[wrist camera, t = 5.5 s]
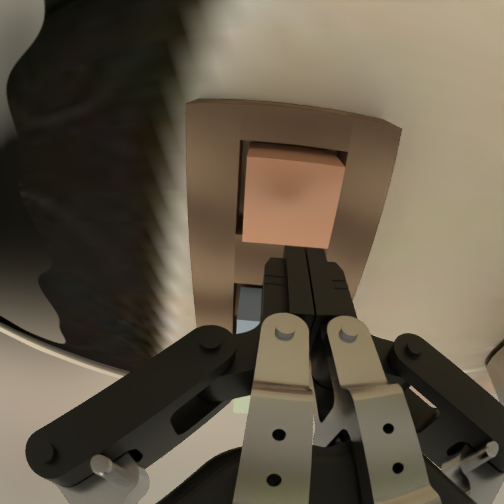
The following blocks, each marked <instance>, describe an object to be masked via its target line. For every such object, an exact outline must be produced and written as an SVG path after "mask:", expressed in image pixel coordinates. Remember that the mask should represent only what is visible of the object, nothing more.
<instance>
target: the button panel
mask: <svg viewBox="0 0 504 504" xmlns="http://www.w3.org/2000/svg"><path fill="white" fill-rule="evenodd" d="M401 131H402V129H401V128H399V127H397V126H395V125H393V124H391V123H389V122H387V121H385V120H382V119H378V118H373V117H369V116H364V115H359V114H354V113H349V112H344V111H338V110H332V109H326V108H319V107H312V106H305V105H297V104H288V103H278V102H267V101H254V100H235V99H197V100H194V101H191V102H189V103H186V175H187V204H188V225H189V242H190V257H191V270H192V283H193V294H194V305H195V315H196V324H197V328H198V327H200V326H204V325H218V326H221V327H223V328H226V329H227V330H229V331H230V332H231V333H232V334H236V330H237V315H238V306H239V298H240V290H241V287H247V288H260V289H262V285H263V276H264V267H265V264H266V263H267V261H268V260H269V259H270V257H274V258H283V251H284V246H285V245H278V244H266V243H253V242H242V234H243V216H244V198H245V181H246V165H247V155H248V151H249V146H250V142H253V143H266V144H277V145H287V146H296V147H305V148H313V149H321V150H328V151H333V152H334V153H335V155H336V156H337V157H338V158H339V160H340V161H341V162H342V164H343V165H344V166H345V172H344V177H343V182H342V187H341V192H340V197H339V202H338V206H337V211H336V216H335V220H334V225H333V229H332V233H331V238H330V242H329V246H328V249H325V248H323V249H324V250H325V254H326V258H327V262H336V263H337V264H338V265H339V266H340V268H341V269H342V270H343V271H344V274H345V278H346V282H347V284H348V288H349V291H350V295H351V298H352V301H353V298H354V296H355V293H356V290H357V287H358V285H359V282H360V279H361V276H362V274H363V271H364V268H365V265H366V262H367V259H368V256H369V253H370V250H371V247H372V244H373V241H374V237H375V234H376V231H377V228H378V224H379V221H380V218H381V214H382V211H383V207H384V203H385V200H386V196H387V192H388V188H389V185H390V181H391V177H392V172H393V168H394V164H395V160H396V155H397V151H398V146H399V141H400V136H401ZM289 246H290V245H289ZM301 247H302V246H301ZM310 371H311V360H309V373H310ZM309 389H310V388H309Z"/></svg>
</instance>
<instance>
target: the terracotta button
mask: <svg viewBox="0 0 504 504" xmlns="http://www.w3.org/2000/svg"><path fill="white" fill-rule="evenodd" d="M344 172H345V166H344V165H343V164H342V162H341V161H340V160H339V158H338V157H337V156H336V155H335V153H334V152H333V151H328V150H321V149H313V148H305V147H296V146H287V145H277V144H266V143H253V142H250V146H249V151H248V155H247V165H246V181H245V198H244V216H243V234H242V242H253V243H266V244H278V245H290V246H302V247H313V248H325V249H328V246H329V242H330V238H331V233H332V229H333V225H334V220H335V216H336V211H337V206H338V202H339V197H340V192H341V187H342V182H343V177H344Z"/></svg>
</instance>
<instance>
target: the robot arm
mask: <svg viewBox="0 0 504 504" xmlns="http://www.w3.org/2000/svg"><path fill="white" fill-rule="evenodd" d="M309 360H311V371H310V373H309ZM487 371H488V373H489V376H490V378H491V381H492V383H493V386H494V388H495V391H496V394H497V396H498V399H499V402H498V401H497V400H496V399H495V398H494V397H493V396H491V395H490V394H489V393H488V392H487V391H486V390H485V389H483V388H482V387H481V386H480V385H479V384H477V383H476V382H475V381H474V380H473V379H471V378H470V377H469V376H468V375H467V374H466V373H464V372H463V371H462V370H461V369H459V368H458V367H457V366H456V365H455V364H453V363H452V362H451V361H450V360H449V359H447V358H446V357H445V356H444V355H442V354H441V353H440V352H439V351H437V350H436V349H435V348H434V347H432V346H431V345H430V344H429V343H427V342H426V341H425V340H424V339H422V338H421V337H419V336H417V335H415V334H410V333H405V334H402V335H400V336H398V337H397V338H396V340H395V341H394V342H392V341H389V340H385V339H381V338H378V337H375V336H373V335H371V334H370V332H369V329H368V328H367V326H366V325H365V324H364V323H363V322H362V321H360V320H359V319H357V316H356V312H355V309H354V305H353V302H352V298H351V295H350V291H349V288H348V284H347V282H346V278H345V274H344V271H343V270H342V269H341V268H340V266H339V265H338V264H337V263H336V262H327V258H326V254H325V250H324V249H323V248H313V247H301V246H289V245H285V246H284V251H283V258H274V257H270V259H269V260H268V261H267V263H266V264H265V267H264V276H263V285H262V294H261V315H260V323H259V324H258V325H257V326H256V327H255V328H254V329H252V330H250V331H247V332H243V333H238V334H232V333H231V332H230V331H229V330H227V329H226V328H223V327H221V326H218V325H204V326H200V327H198V328H196V329H194V330H193V331H191V332H190V333H188V334H187V335H185V336H184V337H183V338H181V339H180V340H178V341H177V342H175V343H174V344H172V345H171V346H169V347H168V348H166V349H165V350H163V351H162V352H160V353H159V354H157V355H156V356H154V357H153V358H151V359H150V360H148V361H147V362H145V363H144V364H142V365H141V366H139V367H138V368H136V369H135V370H133V371H132V372H130V373H129V374H127V375H125V376H124V377H122V378H121V379H119V380H118V381H116V382H115V383H113V384H112V385H110V386H109V387H107V388H105V389H104V390H102V391H101V392H99V393H98V394H96V395H95V396H93V397H91V398H90V399H88V400H86V401H85V402H83V403H82V404H80V405H78V406H77V407H75V408H74V409H72V410H70V411H69V412H67V413H66V414H64V415H62V416H61V417H59V418H57V419H56V420H54V421H52V422H51V423H49V424H47V425H46V426H44V427H43V428H41V429H39V430H38V431H36V432H34V433H33V434H32V435H31V436H30V438H29V439H28V441H27V444H26V450H25V452H26V458H27V462H28V464H29V466H30V467H31V469H32V470H33V471H34V472H35V473H36V474H38V475H39V476H41V477H43V478H45V479H47V480H49V481H51V482H53V483H54V484H56V485H57V486H58V487H59V489H60V490H61V492H62V493H63V494H64V496H65V498H66V499H67V500H68V502H69V504H137V503H138V501H139V500H140V499H141V498H142V497H143V496H144V495H145V494H146V493H147V491H148V489H149V477H148V474H147V472H146V470H145V469H146V468H147V467H149V466H150V465H151V464H153V463H154V462H156V461H157V460H158V459H160V458H161V457H162V456H164V455H165V454H166V453H168V452H169V451H170V450H172V449H173V448H174V447H176V446H177V445H178V444H180V443H181V442H182V441H183V440H185V439H186V438H187V437H188V436H190V435H191V434H192V433H194V432H195V431H196V430H197V429H199V428H200V427H201V426H202V425H204V424H205V423H206V422H207V421H208V420H209V419H211V418H212V417H213V416H214V415H216V414H217V413H218V412H219V411H220V410H221V409H223V408H224V407H225V406H226V405H227V404H228V403H230V401H231V400H232V399H236V398H240V397H245V396H249V395H251V397H250V404H249V410H248V416H247V422H246V429H245V435H244V440H243V446H242V447H238V448H234V449H231V450H228V451H225V452H223V453H221V454H219V455H217V456H215V457H213V458H212V459H210V460H209V461H207V462H206V463H205V464H204V465H202V466H201V467H200V468H199V469H198V470H197V471H196V472H194V473H193V474H192V475H191V476H190V477H188V478H187V479H186V480H185V481H184V482H183V483H181V484H180V485H179V486H178V487H176V488H175V489H174V490H173V491H171V492H170V493H169V494H168V495H166V496H165V497H164V498H163V499H161V500H160V501H159V502H157V503H156V504H492V502H493V500H494V499H495V497H496V495H497V493H498V491H499V489H500V487H501V485H502V483H503V481H504V346H503V347H502V348H501V349H500V350H499V351H498V352H497V353H496V354H495V355H494V356H493V357H492V359H491V360H490V361H489V363H488V365H487ZM410 386H413V387H414V388H415V389H416V390H417V391H418V392H419V393H421V394H422V395H423V396H424V397H425V398H426V399H428V400H429V401H430V402H431V403H432V404H433V405H435V406H436V407H437V408H433V407H431V406H429V405H428V404H427V403H426V402H424V401H423V400H422V399H421V398H420V397H419V396H417V395H416V394H415V393H414V392H413V391H412V390H411V389H409V387H410ZM309 388H310V389H309ZM313 414H314V421H315V433H314V438H313V445H312V437H313ZM426 456H427V457H428V458H429V459H430V460H431V461H432V462H434V463H435V464H436V465H437V466H438V467H440V468H441V470H440V469H439V468H438V467H437V466H435V465H434V464H433V463H432V462H431V461H430V460H429V459H428V458H427V457H426Z"/></svg>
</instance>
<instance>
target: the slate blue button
mask: <svg viewBox="0 0 504 504" xmlns="http://www.w3.org/2000/svg"><path fill="white" fill-rule="evenodd" d="M261 294H262V289H260V288H247V287H241V290H240V298H239V306H238V315H237V330H236V334H238V333H243V332H247V331H250V330H252V329H254V328H255V327H256V326H257V325H258V324H259V323H260V315H261Z"/></svg>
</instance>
